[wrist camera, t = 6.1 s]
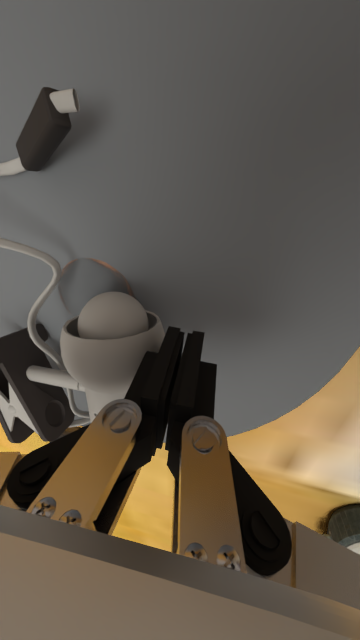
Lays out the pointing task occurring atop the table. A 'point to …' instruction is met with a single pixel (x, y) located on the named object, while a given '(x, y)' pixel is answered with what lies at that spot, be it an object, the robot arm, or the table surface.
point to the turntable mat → (194, 182)
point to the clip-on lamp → (77, 333)
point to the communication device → (346, 527)
